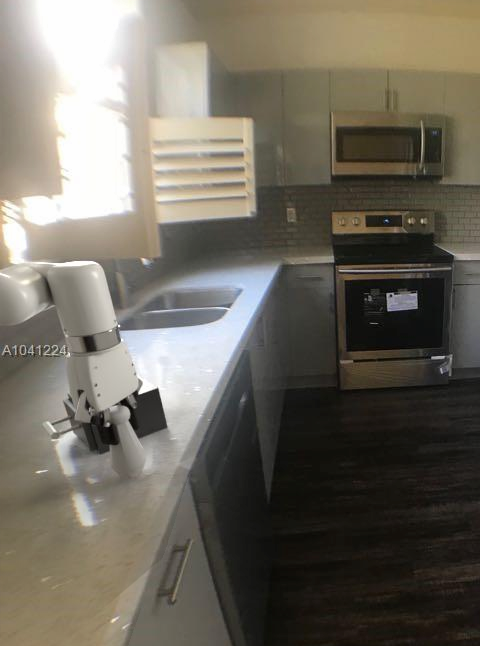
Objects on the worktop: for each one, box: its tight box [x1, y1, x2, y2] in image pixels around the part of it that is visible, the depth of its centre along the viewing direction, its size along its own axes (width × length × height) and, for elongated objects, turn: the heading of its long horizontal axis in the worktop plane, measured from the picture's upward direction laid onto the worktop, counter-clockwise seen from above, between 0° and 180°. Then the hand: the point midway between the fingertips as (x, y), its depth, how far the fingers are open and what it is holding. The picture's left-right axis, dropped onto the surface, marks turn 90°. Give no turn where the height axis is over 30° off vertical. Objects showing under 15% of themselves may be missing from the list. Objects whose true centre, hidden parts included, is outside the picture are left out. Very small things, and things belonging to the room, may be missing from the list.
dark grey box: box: [66, 373, 168, 455], centre depth 98 cm, size 14×13×10 cm
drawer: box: [41, 397, 98, 453], centre depth 95 cm, size 17×11×8 cm, turn 138°
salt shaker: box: [101, 405, 147, 479], centre depth 81 cm, size 6×6×13 cm
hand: (121, 435), depth 81 cm, fingers closed on salt shaker, 4 cm apart
